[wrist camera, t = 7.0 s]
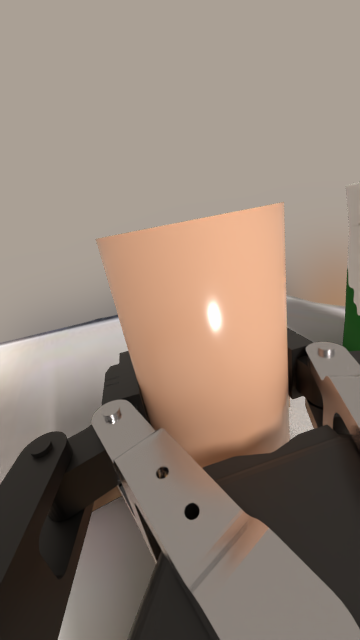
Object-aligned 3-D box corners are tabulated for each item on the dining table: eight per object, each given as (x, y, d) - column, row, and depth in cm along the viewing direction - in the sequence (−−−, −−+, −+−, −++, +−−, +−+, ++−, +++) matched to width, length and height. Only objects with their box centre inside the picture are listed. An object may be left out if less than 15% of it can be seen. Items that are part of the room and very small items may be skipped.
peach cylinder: (159, 546, 11) (51, 247, 6) (191, 441, 16) (144, 229, 11) (298, 588, 9) (294, 200, 4) (286, 454, 14) (278, 202, 9)
